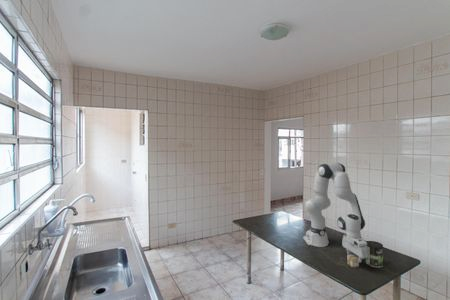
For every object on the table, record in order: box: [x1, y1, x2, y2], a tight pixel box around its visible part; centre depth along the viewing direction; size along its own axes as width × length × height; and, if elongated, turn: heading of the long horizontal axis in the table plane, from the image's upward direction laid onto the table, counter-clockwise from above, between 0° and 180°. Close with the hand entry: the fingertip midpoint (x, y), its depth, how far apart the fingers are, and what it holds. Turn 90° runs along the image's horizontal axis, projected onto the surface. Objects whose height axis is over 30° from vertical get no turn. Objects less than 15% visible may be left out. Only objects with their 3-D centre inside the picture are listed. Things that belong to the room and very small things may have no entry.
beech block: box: [346, 253, 360, 268], centre depth 164 cm, size 5×5×6 cm
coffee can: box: [365, 240, 384, 268], centre depth 164 cm, size 10×10×14 cm
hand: (354, 258), depth 163 cm, fingers open, 8 cm apart
